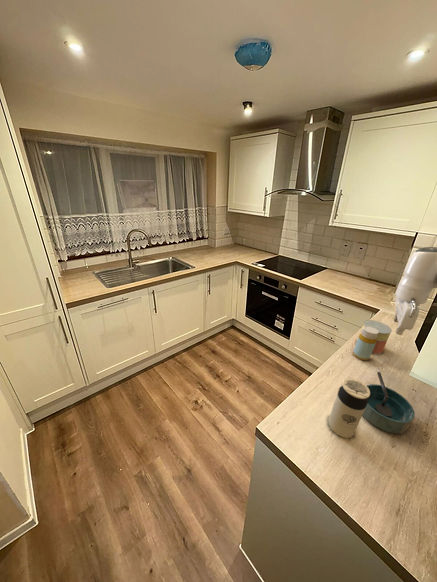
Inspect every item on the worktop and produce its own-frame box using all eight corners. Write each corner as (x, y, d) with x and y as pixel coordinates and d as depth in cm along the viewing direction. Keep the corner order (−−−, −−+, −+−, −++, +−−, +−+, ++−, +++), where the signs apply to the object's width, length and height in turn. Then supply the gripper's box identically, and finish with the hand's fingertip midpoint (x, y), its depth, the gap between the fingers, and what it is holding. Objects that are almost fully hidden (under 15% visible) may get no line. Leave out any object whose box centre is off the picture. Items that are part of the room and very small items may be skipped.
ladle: (380, 385, 94) (386, 373, 91) (392, 422, 80) (399, 408, 77) (366, 381, 96) (371, 369, 93) (375, 417, 81) (381, 403, 78)
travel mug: (330, 411, 83) (344, 373, 75) (355, 424, 79) (372, 385, 71) (325, 428, 77) (339, 389, 70) (352, 443, 73) (370, 403, 65)
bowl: (400, 403, 87) (406, 392, 85) (414, 441, 74) (421, 429, 72) (354, 390, 92) (359, 379, 89) (360, 424, 79) (366, 412, 76)
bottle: (354, 358, 109) (364, 332, 102) (351, 349, 115) (360, 323, 108) (371, 362, 107) (382, 335, 100) (367, 352, 113) (377, 326, 107)
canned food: (383, 344, 119) (391, 325, 114) (382, 357, 110) (391, 336, 105) (358, 336, 124) (365, 317, 119) (356, 348, 116) (363, 327, 111)
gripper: (429, 308, 71) (411, 345, 77) (418, 286, 87) (404, 317, 93) (403, 303, 74) (388, 338, 80) (398, 282, 90) (386, 313, 96)
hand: (397, 327), depth 86 cm, fingers open, 8 cm apart
